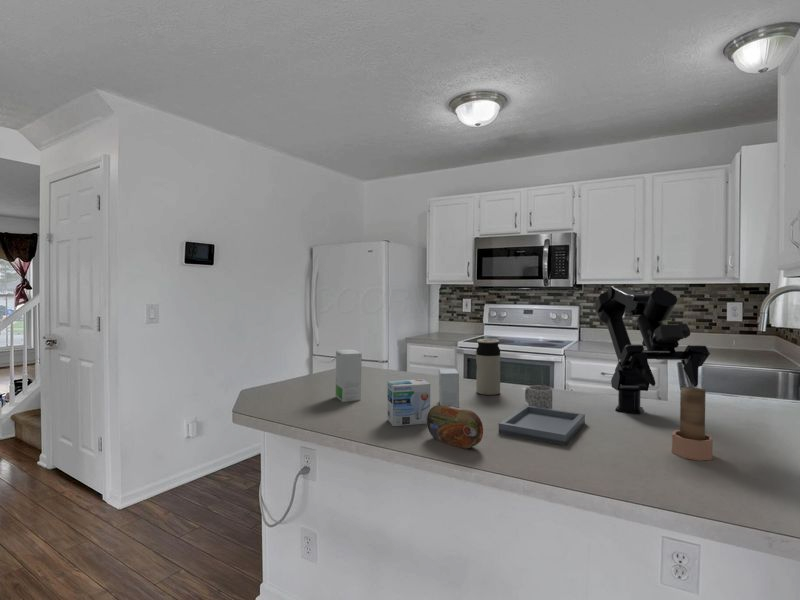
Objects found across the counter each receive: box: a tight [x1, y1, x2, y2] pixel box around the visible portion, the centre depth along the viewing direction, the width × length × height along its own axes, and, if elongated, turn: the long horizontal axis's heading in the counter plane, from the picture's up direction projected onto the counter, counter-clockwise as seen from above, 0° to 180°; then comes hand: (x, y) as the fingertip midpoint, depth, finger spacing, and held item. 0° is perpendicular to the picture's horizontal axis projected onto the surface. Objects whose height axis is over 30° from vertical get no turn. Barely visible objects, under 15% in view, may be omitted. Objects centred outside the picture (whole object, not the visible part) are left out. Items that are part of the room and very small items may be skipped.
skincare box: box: [334, 348, 362, 403], centre depth 146 cm, size 8×7×16 cm
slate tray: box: [498, 404, 586, 447], centre depth 115 cm, size 20×16×2 cm
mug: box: [524, 385, 553, 409], centre depth 133 cm, size 10×7×7 cm, turn 22°
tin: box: [426, 404, 484, 449], centre depth 105 cm, size 15×3×8 cm, turn 45°
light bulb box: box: [387, 378, 431, 427], centre depth 121 cm, size 11×7×11 cm, turn 105°
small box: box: [438, 368, 460, 408], centre depth 138 cm, size 8×6×10 cm
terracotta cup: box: [671, 429, 714, 462], centre depth 97 cm, size 7×7×4 cm
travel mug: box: [475, 338, 501, 396], centre depth 153 cm, size 8×8×18 cm
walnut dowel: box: [679, 386, 707, 441], centre depth 97 cm, size 4×4×14 cm
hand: (675, 385), depth 104 cm, fingers open, 9 cm apart
